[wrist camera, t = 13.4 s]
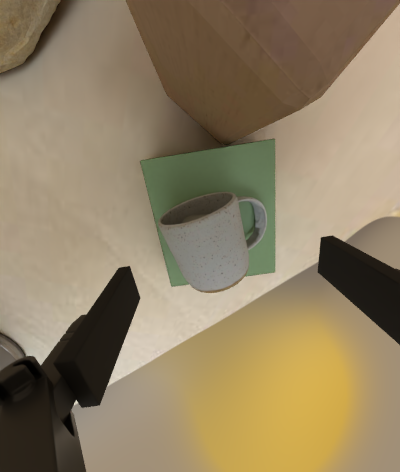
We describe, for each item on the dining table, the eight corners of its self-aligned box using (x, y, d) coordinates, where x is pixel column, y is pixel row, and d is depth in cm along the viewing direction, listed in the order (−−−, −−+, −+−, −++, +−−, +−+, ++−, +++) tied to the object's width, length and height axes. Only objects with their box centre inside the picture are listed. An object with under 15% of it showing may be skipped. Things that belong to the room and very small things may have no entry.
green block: (175, 264, 31) (171, 287, 26) (152, 160, 25) (139, 160, 20) (260, 252, 31) (275, 272, 25) (257, 143, 25) (275, 138, 19)
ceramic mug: (188, 267, 24) (187, 311, 17) (162, 208, 21) (148, 232, 14) (268, 240, 23) (302, 275, 16) (253, 175, 21) (286, 183, 13)
